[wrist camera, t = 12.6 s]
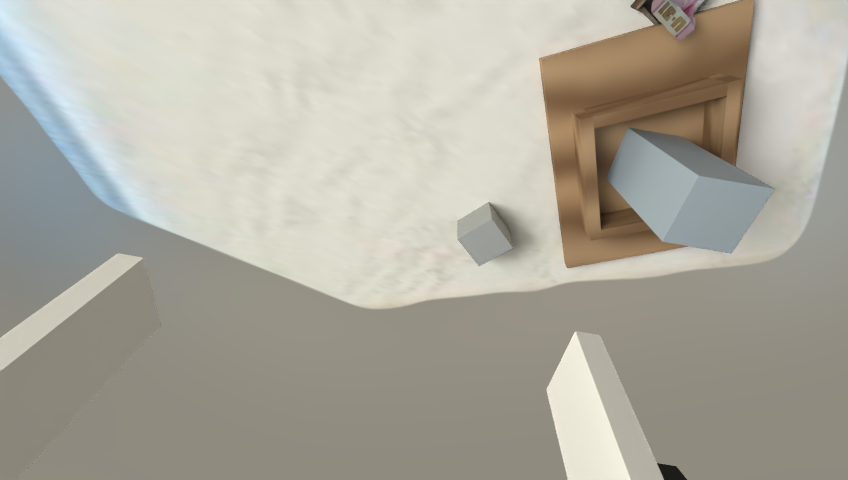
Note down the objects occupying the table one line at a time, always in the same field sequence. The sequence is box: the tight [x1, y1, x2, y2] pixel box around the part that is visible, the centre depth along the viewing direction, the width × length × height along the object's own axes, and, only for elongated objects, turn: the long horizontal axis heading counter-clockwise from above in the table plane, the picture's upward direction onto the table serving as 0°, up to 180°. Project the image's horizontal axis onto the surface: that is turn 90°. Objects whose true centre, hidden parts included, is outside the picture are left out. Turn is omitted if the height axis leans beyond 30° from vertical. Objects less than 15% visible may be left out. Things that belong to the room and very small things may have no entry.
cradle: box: [539, 0, 754, 268], centre depth 36 cm, size 22×16×4 cm
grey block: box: [457, 202, 513, 266], centre depth 41 cm, size 4×4×4 cm
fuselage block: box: [606, 127, 774, 253], centre depth 31 cm, size 5×5×12 cm
